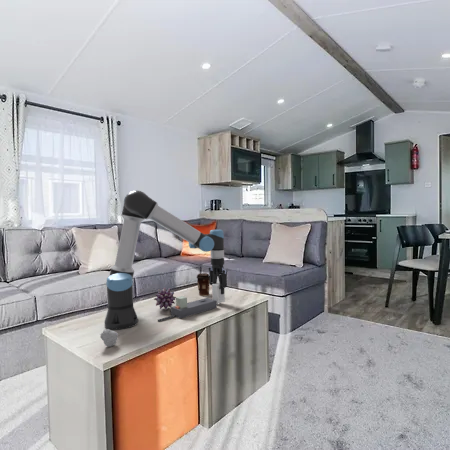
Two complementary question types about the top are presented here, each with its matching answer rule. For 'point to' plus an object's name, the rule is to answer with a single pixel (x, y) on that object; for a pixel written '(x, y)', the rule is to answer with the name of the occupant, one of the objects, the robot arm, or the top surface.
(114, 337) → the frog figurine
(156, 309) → the top surface
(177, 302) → the block
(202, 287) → the coffee cup
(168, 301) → the flower
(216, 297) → the white rectangular block
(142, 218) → the robot arm
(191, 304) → the power strip
